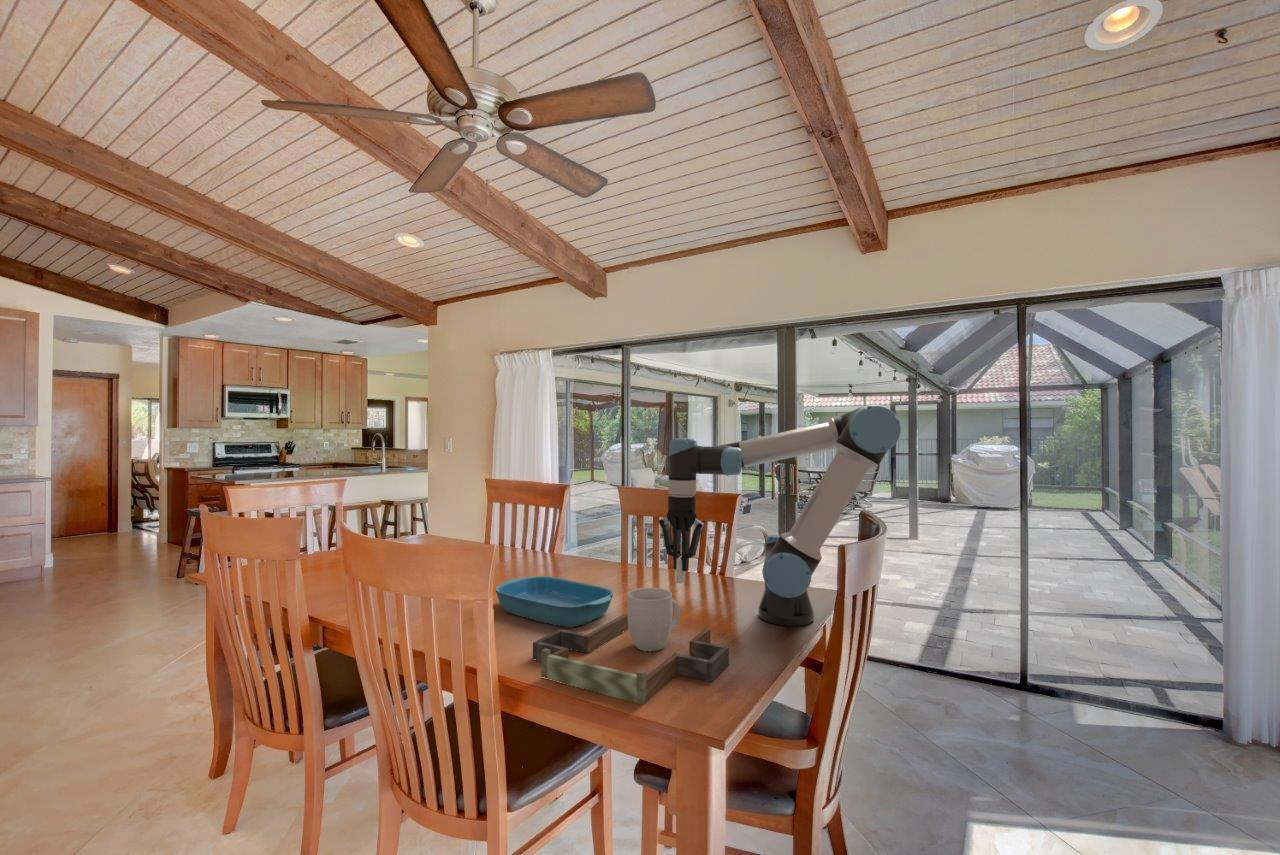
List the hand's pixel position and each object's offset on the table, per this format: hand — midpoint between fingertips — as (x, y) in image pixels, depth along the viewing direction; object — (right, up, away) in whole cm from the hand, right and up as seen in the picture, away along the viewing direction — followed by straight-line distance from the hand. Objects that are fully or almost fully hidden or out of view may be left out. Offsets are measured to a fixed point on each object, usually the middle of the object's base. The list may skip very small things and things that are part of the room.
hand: (680, 582), depth 158 cm
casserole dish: (-36, -12, +11) cm, 39 cm away
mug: (-8, -12, -15) cm, 21 cm away
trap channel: (-13, -12, -24) cm, 30 cm away
